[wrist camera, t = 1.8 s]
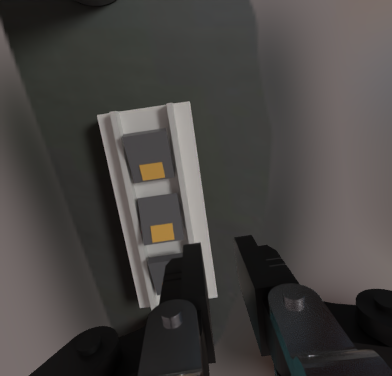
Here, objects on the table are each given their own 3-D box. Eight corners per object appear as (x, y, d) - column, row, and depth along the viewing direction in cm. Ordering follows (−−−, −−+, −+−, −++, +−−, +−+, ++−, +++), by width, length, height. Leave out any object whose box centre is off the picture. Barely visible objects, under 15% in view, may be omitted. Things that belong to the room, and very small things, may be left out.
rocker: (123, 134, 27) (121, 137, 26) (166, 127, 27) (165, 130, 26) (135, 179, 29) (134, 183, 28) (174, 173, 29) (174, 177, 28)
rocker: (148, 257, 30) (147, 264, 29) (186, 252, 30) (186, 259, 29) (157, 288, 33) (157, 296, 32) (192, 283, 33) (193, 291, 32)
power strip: (106, 116, 31) (91, 114, 27) (189, 103, 31) (189, 100, 26) (144, 291, 37) (137, 316, 32) (215, 281, 37) (218, 305, 32)
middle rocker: (139, 198, 30) (137, 198, 29) (177, 192, 30) (177, 192, 29) (145, 243, 30) (143, 245, 29) (184, 238, 30) (183, 240, 29)
